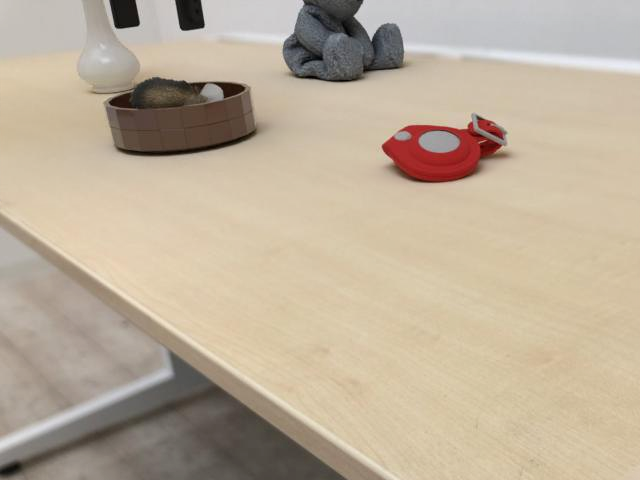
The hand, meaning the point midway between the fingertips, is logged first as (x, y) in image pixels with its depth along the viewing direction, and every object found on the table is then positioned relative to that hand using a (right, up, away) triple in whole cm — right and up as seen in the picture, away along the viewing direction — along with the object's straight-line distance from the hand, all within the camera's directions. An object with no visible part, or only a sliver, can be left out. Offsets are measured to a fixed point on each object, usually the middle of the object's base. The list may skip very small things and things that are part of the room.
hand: (159, 28), depth 88 cm
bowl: (+1, -11, +6) cm, 12 cm away
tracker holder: (+32, -18, -11) cm, 38 cm away
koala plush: (+14, +9, +43) cm, 46 cm away
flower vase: (-21, +5, +38) cm, 44 cm away
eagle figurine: (+1, -10, +6) cm, 12 cm away
